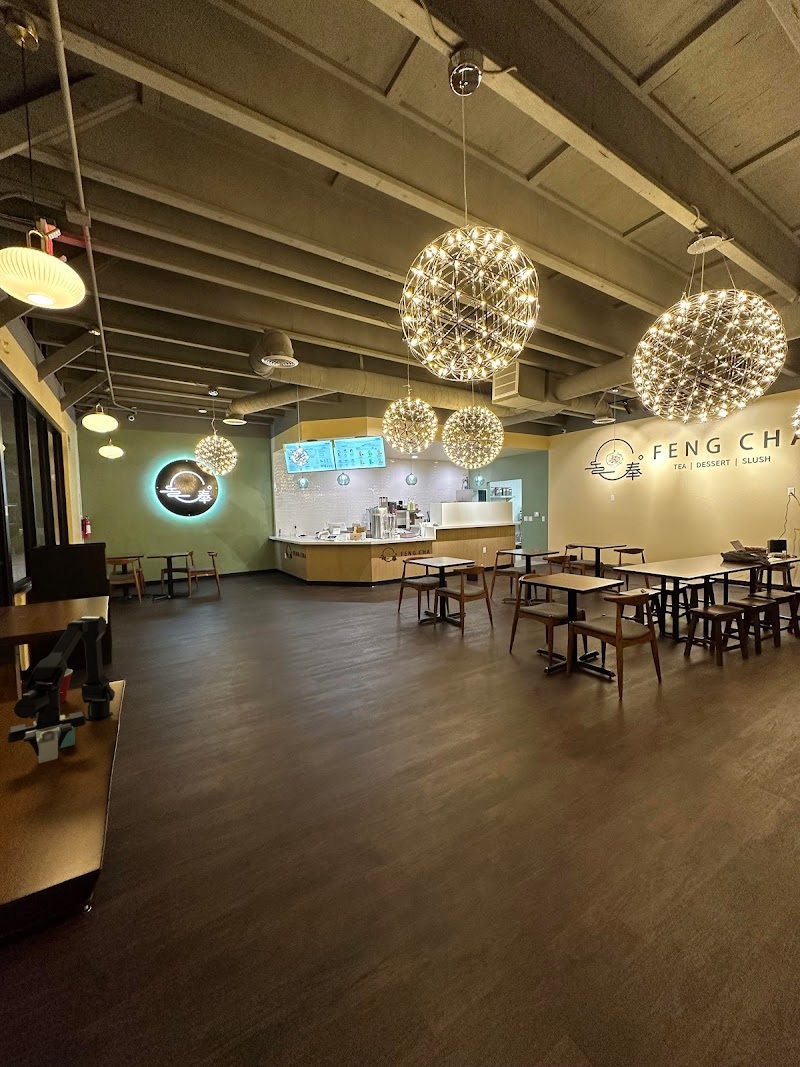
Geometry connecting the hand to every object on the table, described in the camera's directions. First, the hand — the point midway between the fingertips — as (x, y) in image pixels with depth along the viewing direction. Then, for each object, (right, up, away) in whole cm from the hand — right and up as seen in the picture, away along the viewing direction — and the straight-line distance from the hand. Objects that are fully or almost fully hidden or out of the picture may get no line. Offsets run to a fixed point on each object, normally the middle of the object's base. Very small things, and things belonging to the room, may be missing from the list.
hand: (48, 752), depth 136 cm
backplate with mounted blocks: (-13, -1, +18) cm, 22 cm away
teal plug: (-1, -1, +9) cm, 9 cm away
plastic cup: (-29, 0, +40) cm, 50 cm away
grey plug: (0, -2, 0) cm, 2 cm away
